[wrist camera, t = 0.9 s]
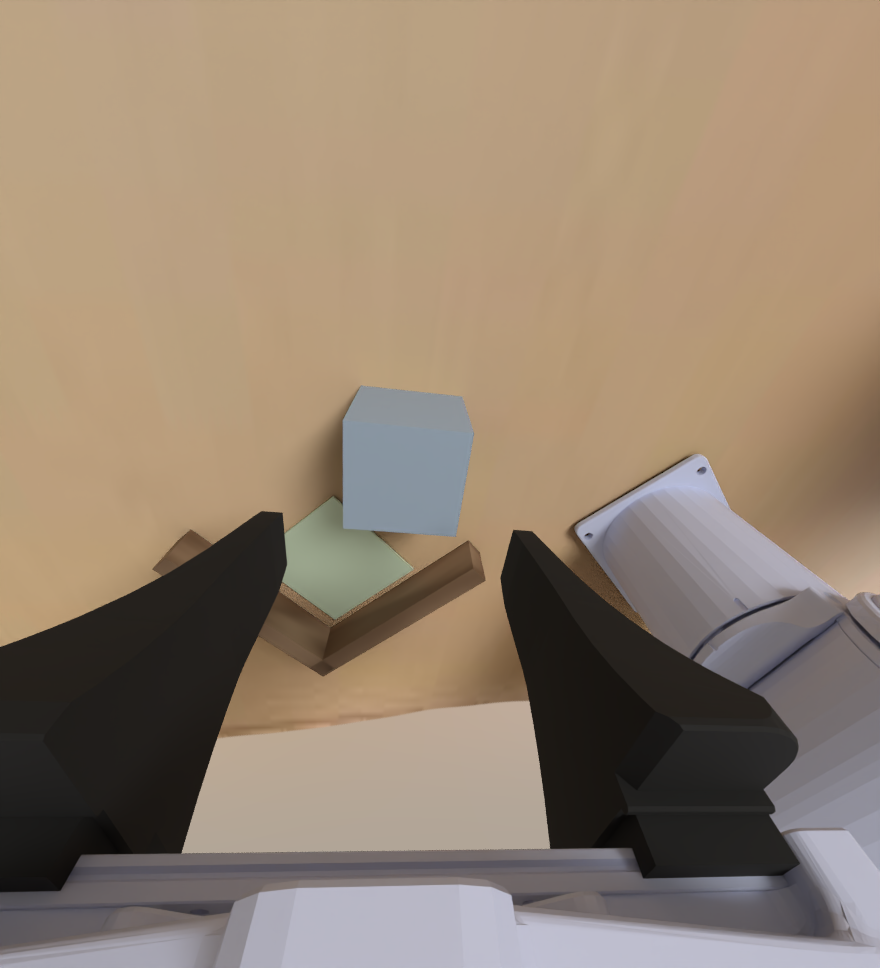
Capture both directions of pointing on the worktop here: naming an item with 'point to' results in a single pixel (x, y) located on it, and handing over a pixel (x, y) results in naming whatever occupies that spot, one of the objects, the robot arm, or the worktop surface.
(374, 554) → the pad
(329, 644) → the wooden l-bracket
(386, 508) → the cube
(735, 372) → the worktop surface
